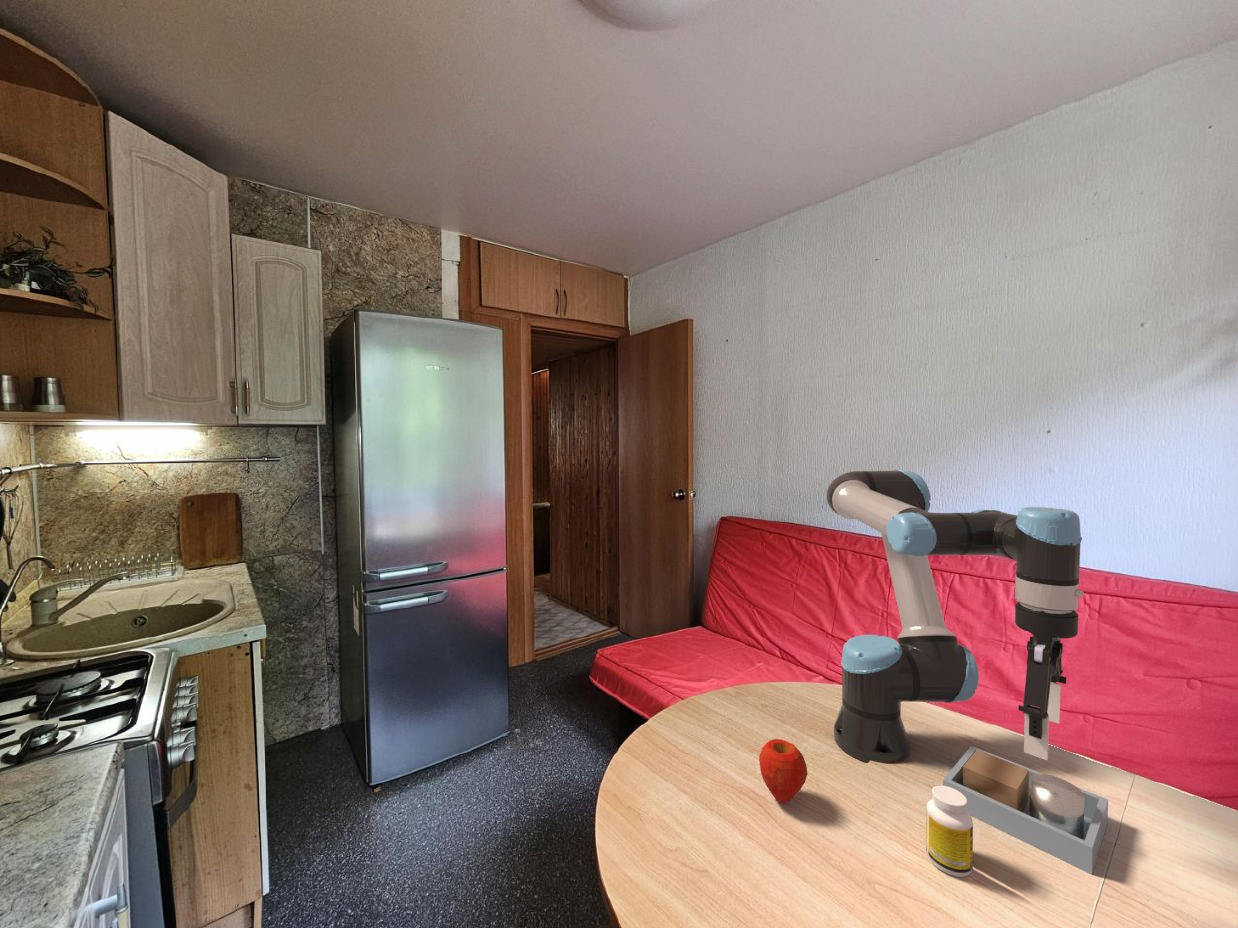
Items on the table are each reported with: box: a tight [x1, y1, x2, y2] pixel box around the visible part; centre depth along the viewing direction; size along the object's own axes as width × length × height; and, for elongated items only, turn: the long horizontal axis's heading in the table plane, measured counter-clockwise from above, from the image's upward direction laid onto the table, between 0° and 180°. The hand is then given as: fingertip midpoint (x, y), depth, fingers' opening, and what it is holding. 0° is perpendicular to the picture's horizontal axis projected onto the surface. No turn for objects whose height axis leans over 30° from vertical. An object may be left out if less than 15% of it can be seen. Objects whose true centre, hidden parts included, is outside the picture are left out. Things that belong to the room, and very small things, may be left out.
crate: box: [942, 745, 1109, 875], centre depth 88 cm, size 20×16×5 cm
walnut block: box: [963, 750, 1029, 812], centre depth 91 cm, size 8×8×6 cm
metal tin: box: [1029, 773, 1085, 840], centre depth 84 cm, size 7×7×7 cm
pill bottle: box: [925, 785, 974, 878], centre depth 78 cm, size 6×6×11 cm
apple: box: [758, 738, 808, 804], centre depth 93 cm, size 9×8×11 cm
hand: (1042, 736), depth 78 cm, fingers open, 13 cm apart
